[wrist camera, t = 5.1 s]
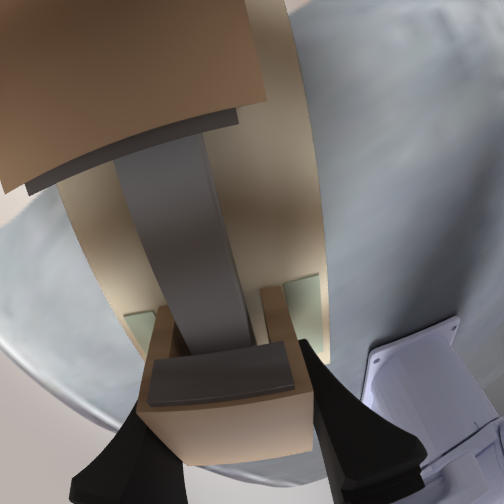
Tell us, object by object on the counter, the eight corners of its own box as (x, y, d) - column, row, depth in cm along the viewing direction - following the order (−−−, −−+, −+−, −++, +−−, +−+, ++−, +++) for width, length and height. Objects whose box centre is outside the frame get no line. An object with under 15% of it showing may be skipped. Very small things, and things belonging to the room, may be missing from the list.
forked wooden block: (289, 360, 15) (312, 450, 10) (190, 375, 14) (187, 465, 10) (279, 279, 12) (313, 385, 7) (156, 301, 12) (131, 407, 7)
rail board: (325, 351, 17) (359, 441, 11) (169, 382, 16) (162, 473, 11) (267, -30, 7) (314, -123, 1) (38, 44, 7) (-67, 32, 1)
